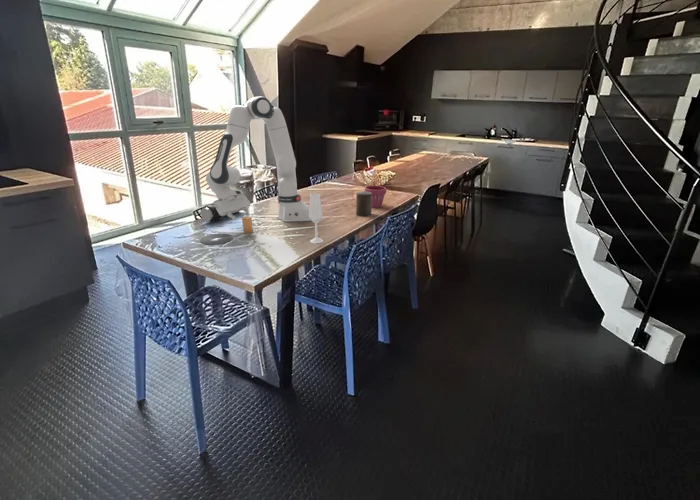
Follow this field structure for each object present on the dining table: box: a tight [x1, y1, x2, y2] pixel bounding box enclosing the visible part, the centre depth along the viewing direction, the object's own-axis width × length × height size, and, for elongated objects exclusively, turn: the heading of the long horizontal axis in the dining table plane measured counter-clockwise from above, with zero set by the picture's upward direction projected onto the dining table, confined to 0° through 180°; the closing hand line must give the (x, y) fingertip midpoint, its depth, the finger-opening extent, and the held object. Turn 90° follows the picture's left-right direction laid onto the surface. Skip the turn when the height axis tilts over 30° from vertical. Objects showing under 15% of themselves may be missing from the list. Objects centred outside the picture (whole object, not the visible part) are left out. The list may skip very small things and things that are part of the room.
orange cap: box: [241, 216, 254, 235], centre depth 205 cm, size 5×5×8 cm
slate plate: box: [199, 232, 234, 246], centre depth 196 cm, size 16×16×1 cm
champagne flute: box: [308, 193, 324, 244], centre depth 188 cm, size 7×7×24 cm
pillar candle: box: [355, 190, 372, 217], centre depth 236 cm, size 10×10×15 cm
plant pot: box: [364, 185, 387, 209], centre depth 254 cm, size 14×14×13 cm
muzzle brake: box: [200, 204, 240, 223], centre depth 230 cm, size 10×28×10 cm, turn 155°
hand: (241, 217), depth 205 cm, fingers open, 8 cm apart
